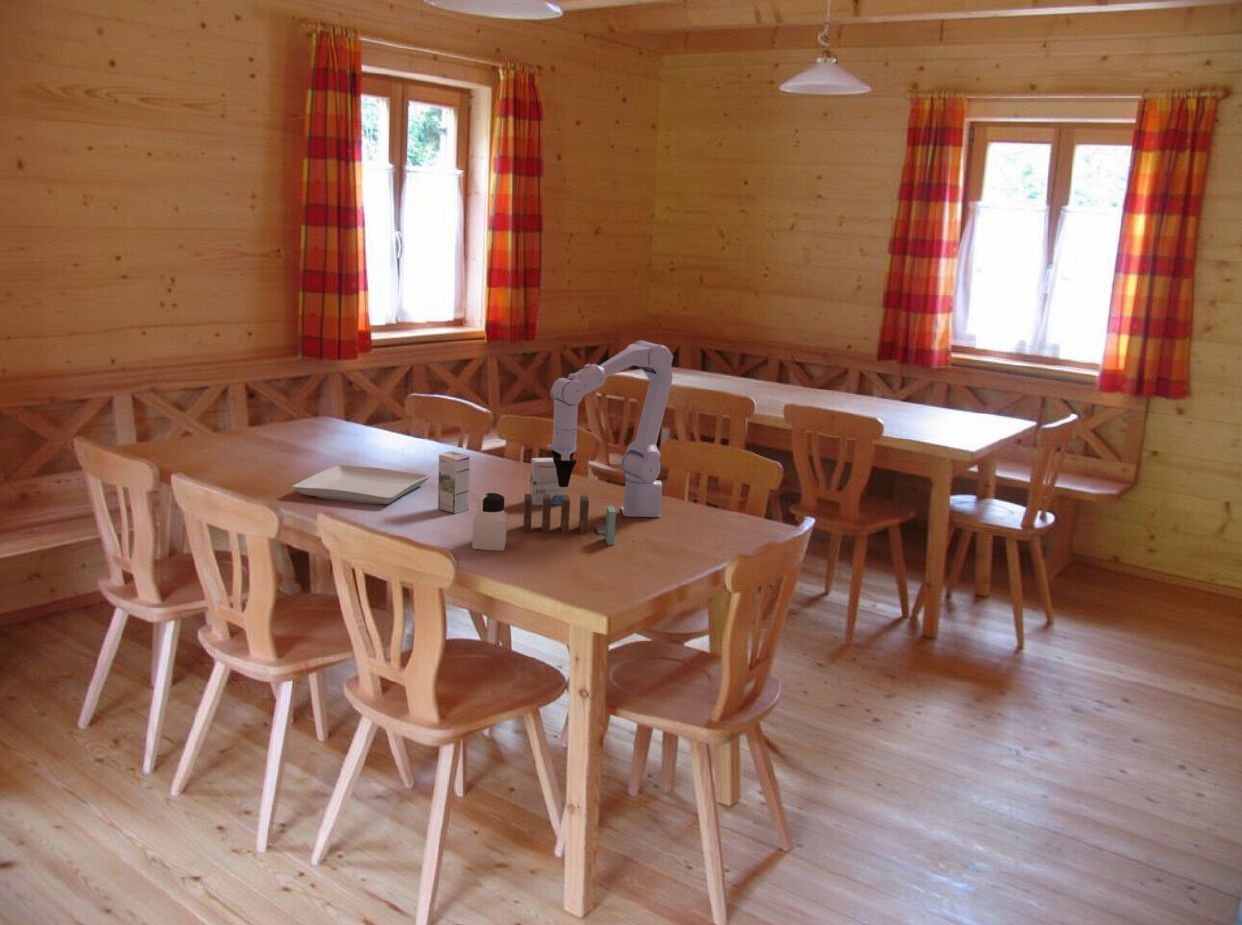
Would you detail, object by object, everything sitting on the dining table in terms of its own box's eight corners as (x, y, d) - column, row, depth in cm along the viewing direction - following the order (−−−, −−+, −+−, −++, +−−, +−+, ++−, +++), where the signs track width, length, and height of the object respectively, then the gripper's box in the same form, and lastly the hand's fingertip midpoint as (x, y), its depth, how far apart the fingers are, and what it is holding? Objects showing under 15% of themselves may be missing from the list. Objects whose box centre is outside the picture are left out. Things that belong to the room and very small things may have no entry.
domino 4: (585, 527, 267) (587, 495, 265) (587, 533, 262) (588, 501, 261) (578, 527, 267) (580, 495, 265) (580, 533, 262) (582, 500, 260)
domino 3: (567, 526, 267) (568, 495, 265) (568, 532, 262) (570, 500, 260) (560, 526, 266) (561, 494, 265) (561, 532, 262) (563, 500, 260)
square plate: (391, 511, 272) (391, 496, 271) (289, 499, 277) (289, 484, 276) (431, 486, 298) (431, 472, 297) (337, 476, 303) (337, 462, 302)
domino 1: (530, 525, 266) (531, 494, 264) (530, 531, 261) (532, 499, 259) (523, 525, 265) (524, 493, 264) (524, 531, 260) (525, 499, 259)
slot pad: (612, 526, 269) (613, 524, 269) (616, 534, 262) (616, 533, 262) (595, 526, 269) (595, 524, 268) (597, 534, 262) (598, 532, 262)
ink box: (560, 500, 290) (562, 457, 288) (564, 505, 286) (567, 461, 283) (528, 500, 288) (530, 457, 286) (532, 505, 283) (534, 461, 281)
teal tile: (611, 538, 259) (613, 506, 257) (614, 545, 254) (615, 511, 253) (605, 538, 259) (606, 505, 257) (607, 544, 254) (609, 511, 252)
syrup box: (469, 509, 276) (471, 453, 273) (454, 514, 271) (455, 457, 268) (452, 505, 279) (453, 450, 276) (436, 510, 274) (438, 453, 271)
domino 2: (548, 526, 266) (549, 494, 264) (549, 532, 261) (551, 500, 259) (541, 526, 266) (543, 494, 264) (542, 532, 261) (544, 499, 259)
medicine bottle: (506, 541, 252) (508, 491, 249) (504, 551, 245) (505, 499, 242) (475, 540, 252) (476, 490, 249) (472, 549, 245) (473, 498, 242)
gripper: (547, 421, 271) (545, 475, 274) (549, 433, 257) (547, 489, 260) (575, 422, 272) (573, 475, 275) (579, 434, 258) (576, 490, 261)
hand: (562, 482), depth 267 cm, fingers open, 7 cm apart
